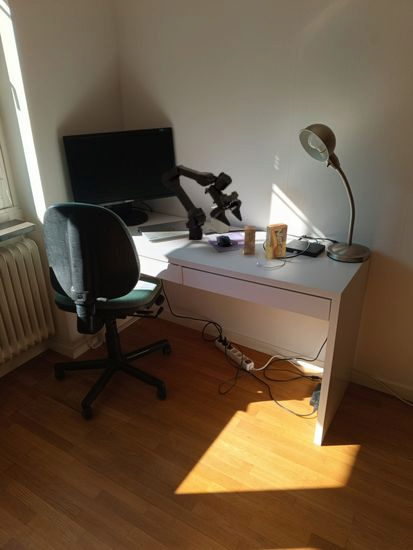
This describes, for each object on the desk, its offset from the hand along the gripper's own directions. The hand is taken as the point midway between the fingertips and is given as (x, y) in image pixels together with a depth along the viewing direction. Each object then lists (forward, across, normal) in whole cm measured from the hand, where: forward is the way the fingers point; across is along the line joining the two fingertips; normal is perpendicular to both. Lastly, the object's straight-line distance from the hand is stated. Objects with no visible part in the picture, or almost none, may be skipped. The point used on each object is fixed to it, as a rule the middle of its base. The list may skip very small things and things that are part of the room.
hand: (235, 223), depth 197 cm
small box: (-6, +16, +26) cm, 31 cm away
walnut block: (+15, 0, +3) cm, 15 cm away
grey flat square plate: (+15, 0, +3) cm, 16 cm away
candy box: (+23, +4, -5) cm, 24 cm away
